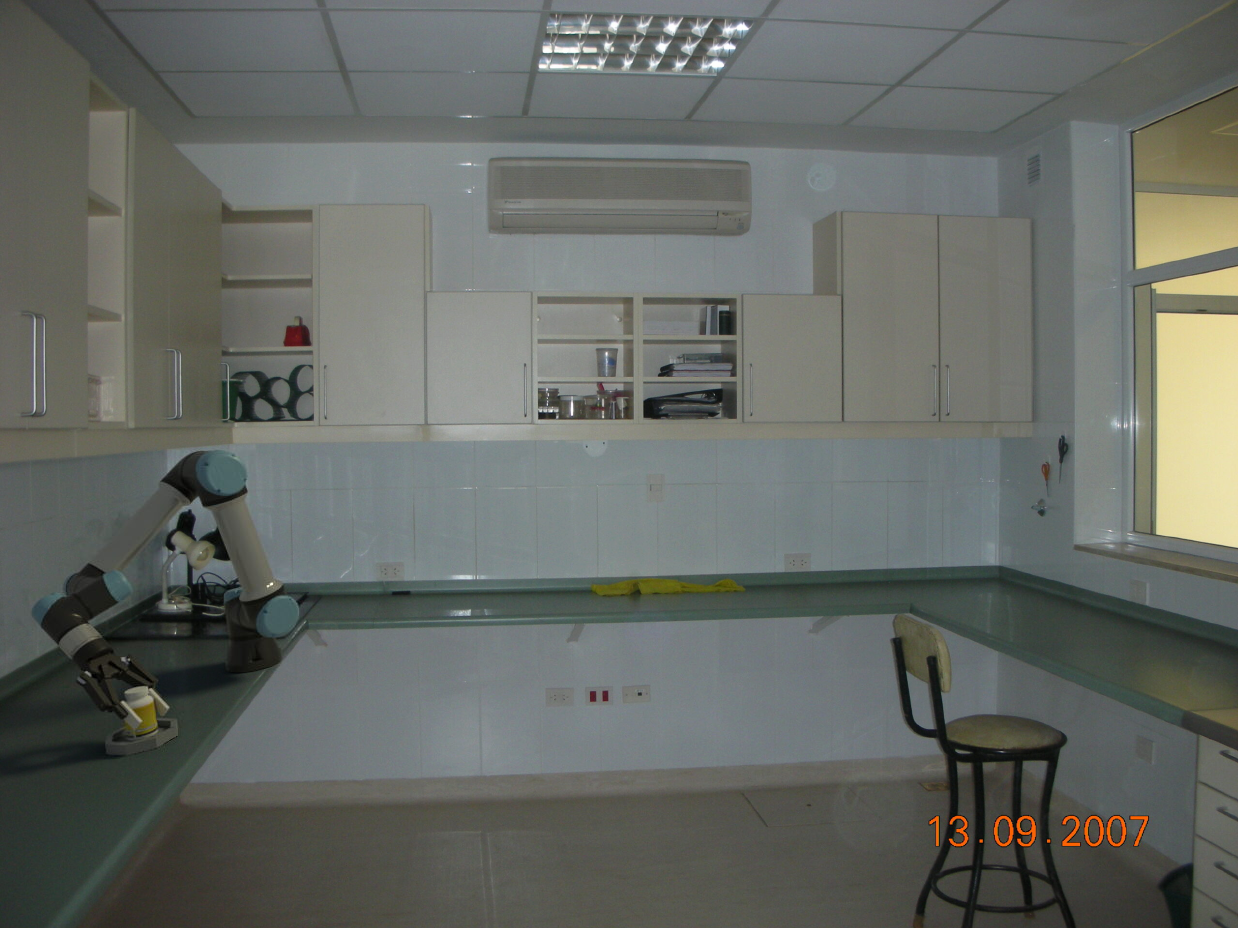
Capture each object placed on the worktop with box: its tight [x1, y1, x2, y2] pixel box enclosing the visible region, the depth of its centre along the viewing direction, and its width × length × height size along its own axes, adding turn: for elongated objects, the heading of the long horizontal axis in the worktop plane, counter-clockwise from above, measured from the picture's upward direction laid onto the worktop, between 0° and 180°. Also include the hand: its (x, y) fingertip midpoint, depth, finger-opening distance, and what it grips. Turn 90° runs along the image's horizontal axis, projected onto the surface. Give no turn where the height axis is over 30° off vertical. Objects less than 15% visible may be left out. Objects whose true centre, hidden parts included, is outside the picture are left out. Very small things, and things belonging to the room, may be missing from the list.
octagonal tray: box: [104, 717, 179, 757], centre depth 187 cm, size 14×14×2 cm
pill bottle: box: [124, 686, 158, 741], centre depth 186 cm, size 6×6×11 cm
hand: (152, 718), depth 185 cm, fingers open, 7 cm apart
